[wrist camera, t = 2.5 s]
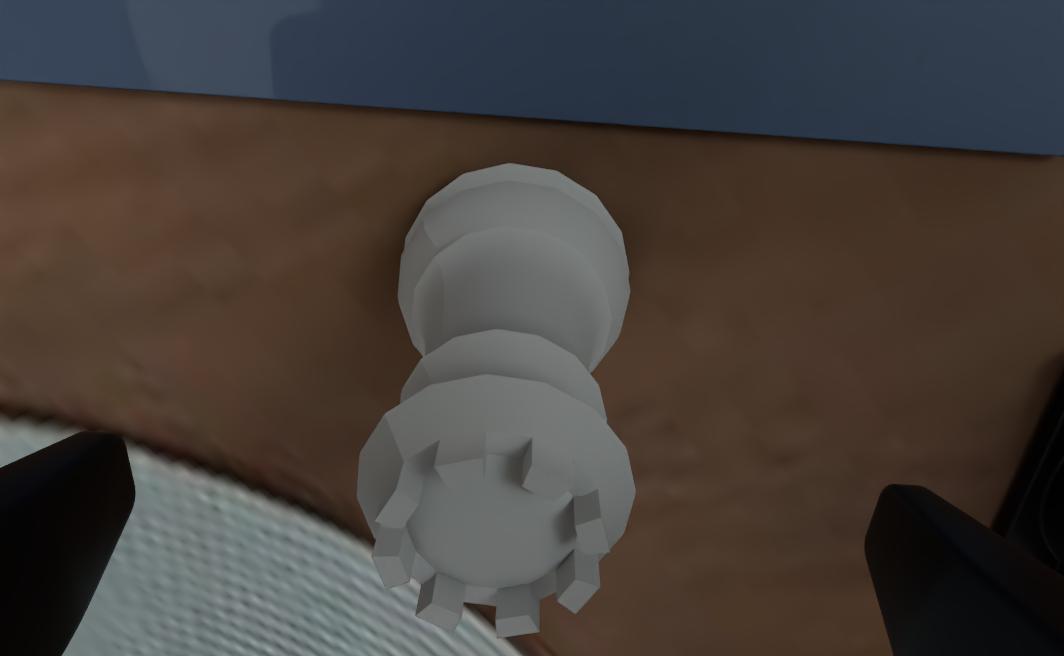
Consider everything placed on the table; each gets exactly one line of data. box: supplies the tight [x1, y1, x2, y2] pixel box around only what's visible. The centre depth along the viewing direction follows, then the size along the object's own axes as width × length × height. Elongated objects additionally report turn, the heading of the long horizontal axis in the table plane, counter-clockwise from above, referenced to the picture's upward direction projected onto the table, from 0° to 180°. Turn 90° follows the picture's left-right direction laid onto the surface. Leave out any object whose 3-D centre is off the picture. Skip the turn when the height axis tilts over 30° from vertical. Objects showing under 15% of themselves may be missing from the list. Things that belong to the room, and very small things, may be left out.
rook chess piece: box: [357, 163, 636, 638], centre depth 11 cm, size 4×4×8 cm
